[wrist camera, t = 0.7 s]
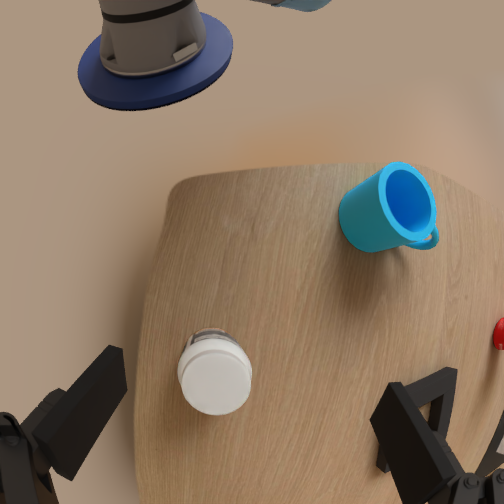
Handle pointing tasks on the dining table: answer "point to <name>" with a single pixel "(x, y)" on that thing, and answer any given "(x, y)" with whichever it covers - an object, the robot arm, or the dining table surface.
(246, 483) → the dining table surface
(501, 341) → the beverage can
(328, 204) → the dining table surface
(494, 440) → the black-topped pedestal
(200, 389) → the pill bottle
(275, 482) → the dining table surface
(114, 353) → the robot arm
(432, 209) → the mug
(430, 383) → the dock pad
